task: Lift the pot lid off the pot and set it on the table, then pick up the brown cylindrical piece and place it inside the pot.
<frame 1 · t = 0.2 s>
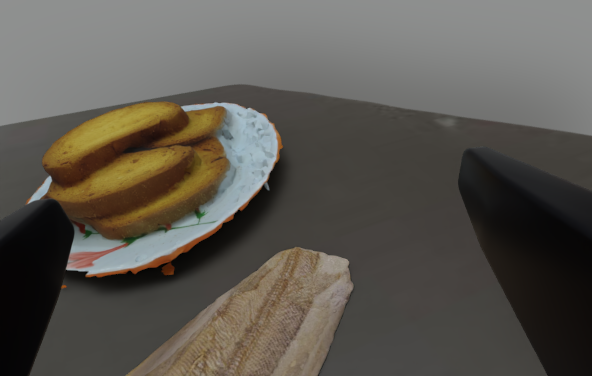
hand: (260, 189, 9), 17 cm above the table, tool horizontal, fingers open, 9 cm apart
food on plate: (162, 187, 39), on the table
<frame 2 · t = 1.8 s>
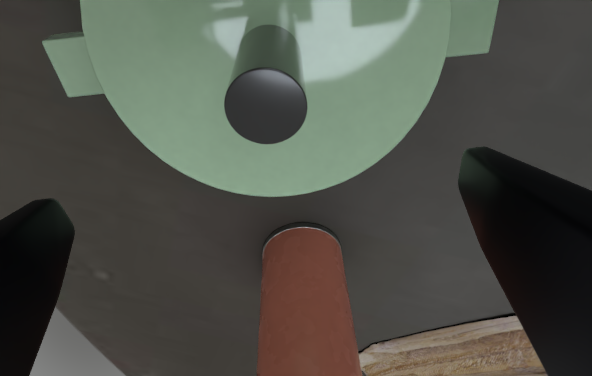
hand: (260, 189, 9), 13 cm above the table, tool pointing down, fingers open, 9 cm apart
pot: (272, 20, 19), on the table
brown cylindrical piece: (301, 251, 29), on the table
brown flat tapered piece: (488, 344, 38), on the table
pot lid: (270, 53, 15), point 5 cm above the table, touching pot
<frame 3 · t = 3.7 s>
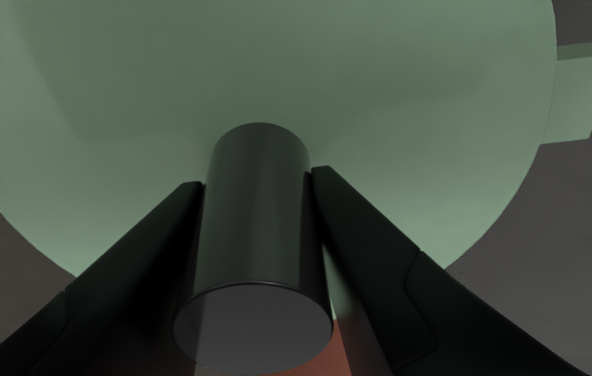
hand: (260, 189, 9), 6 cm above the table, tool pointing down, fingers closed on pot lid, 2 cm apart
pot: (264, 79, 14), on the table
brown cylindrical piece: (307, 337, 24), on the table
pot lid: (261, 155, 10), point 5 cm above the table, touching gripper, pot
when the fingers open (2 cm above the table, at t = 8.8 s): pot lid stays where it is, point 1 cm above the table.
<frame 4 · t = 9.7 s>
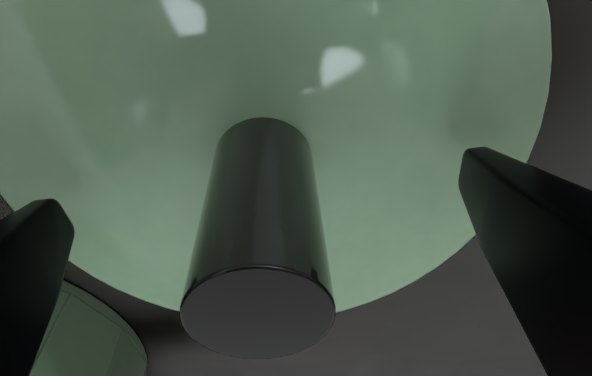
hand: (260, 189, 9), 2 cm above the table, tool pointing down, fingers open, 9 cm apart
pot lid: (264, 149, 10), point 1 cm above the table
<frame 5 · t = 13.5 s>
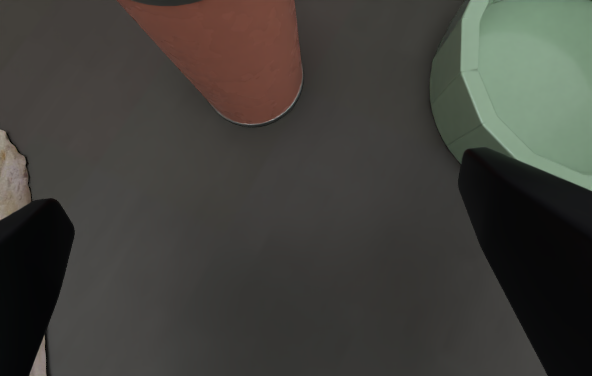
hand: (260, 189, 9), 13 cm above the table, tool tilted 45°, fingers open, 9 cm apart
pot: (543, 89, 22), on the table
brown cylindrical piece: (253, 78, 23), on the table
when the fingers open (7 cm above the table, at t = 24.1 s): brown cylindrical piece stays where it is, resting on pot.
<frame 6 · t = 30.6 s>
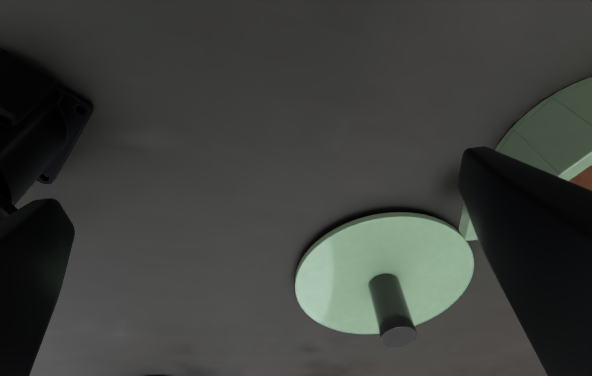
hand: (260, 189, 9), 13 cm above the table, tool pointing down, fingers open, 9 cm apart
pot: (581, 164, 25), on the table
brown cylindrical piece: (584, 167, 25), resting on pot
pot lid: (382, 278, 30), point 1 cm above the table
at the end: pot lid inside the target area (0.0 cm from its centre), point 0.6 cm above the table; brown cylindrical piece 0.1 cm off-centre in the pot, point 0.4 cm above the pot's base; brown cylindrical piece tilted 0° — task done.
